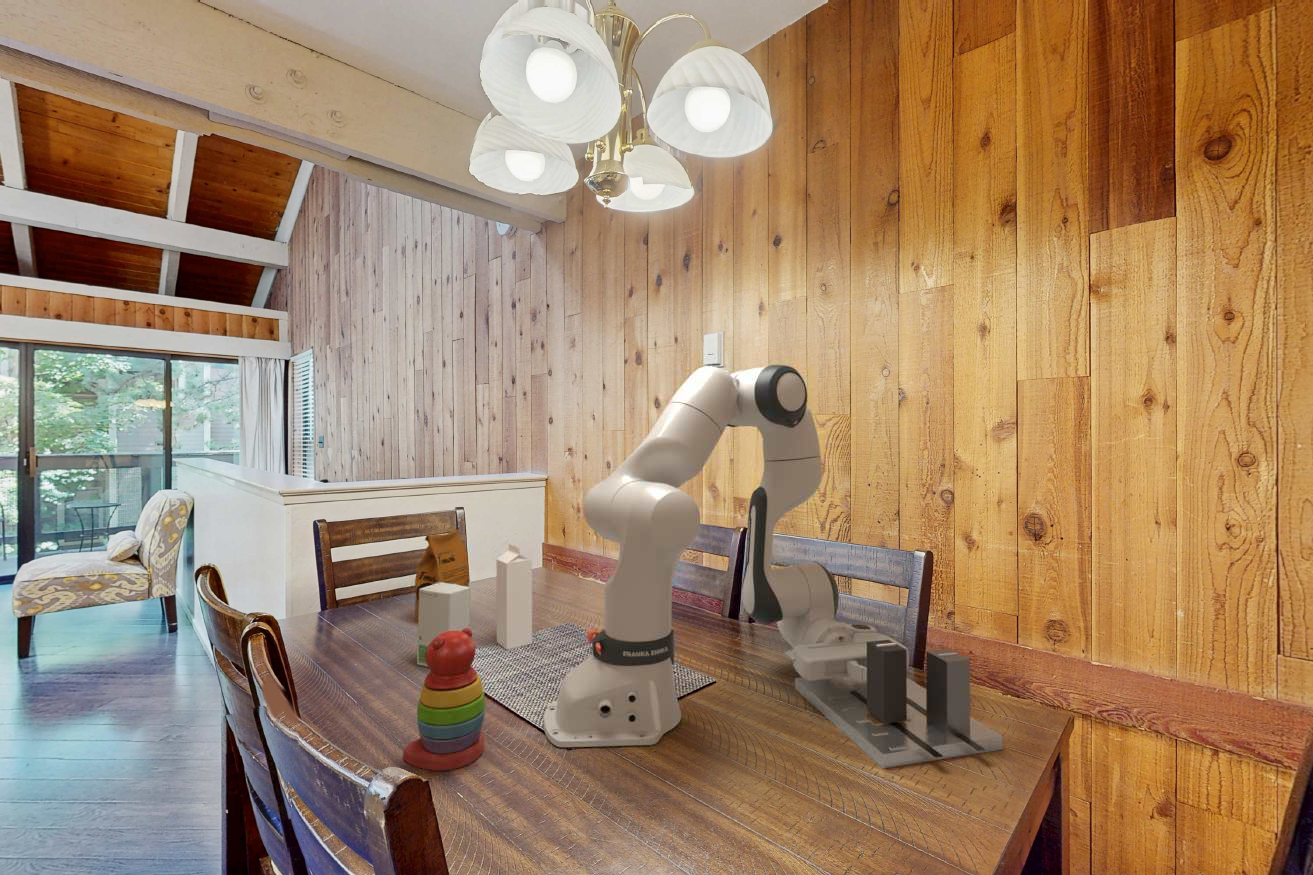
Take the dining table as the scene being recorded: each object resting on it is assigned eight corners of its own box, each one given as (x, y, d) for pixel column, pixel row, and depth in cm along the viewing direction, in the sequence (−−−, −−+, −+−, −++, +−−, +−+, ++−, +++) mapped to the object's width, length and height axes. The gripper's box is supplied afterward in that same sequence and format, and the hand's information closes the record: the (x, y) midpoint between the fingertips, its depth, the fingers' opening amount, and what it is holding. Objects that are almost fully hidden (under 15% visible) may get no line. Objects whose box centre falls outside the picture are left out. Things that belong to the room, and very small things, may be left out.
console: (894, 778, 78) (894, 681, 78) (795, 689, 105) (794, 617, 105) (1016, 758, 82) (1016, 666, 82) (890, 677, 110) (890, 608, 110)
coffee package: (408, 622, 144) (408, 534, 144) (445, 609, 155) (445, 527, 155) (438, 628, 140) (437, 537, 140) (474, 613, 151) (474, 530, 151)
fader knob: (883, 723, 88) (883, 650, 88) (866, 710, 92) (866, 640, 92) (906, 720, 89) (906, 648, 89) (888, 707, 93) (888, 638, 93)
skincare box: (416, 665, 117) (416, 588, 117) (439, 654, 123) (439, 581, 123) (448, 671, 113) (448, 592, 113) (471, 659, 120) (471, 584, 120)
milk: (506, 650, 125) (506, 549, 125) (496, 642, 130) (495, 544, 130) (532, 643, 129) (532, 545, 129) (521, 636, 134) (520, 541, 133)
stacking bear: (464, 727, 92) (463, 615, 92) (502, 748, 85) (502, 629, 85) (397, 756, 83) (397, 633, 83) (434, 782, 77) (434, 650, 77)
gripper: (779, 633, 104) (819, 663, 90) (879, 625, 108) (930, 651, 95) (779, 668, 104) (819, 703, 90) (879, 658, 108) (930, 689, 95)
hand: (877, 676), depth 93 cm, fingers closed, pressing on fader knob
